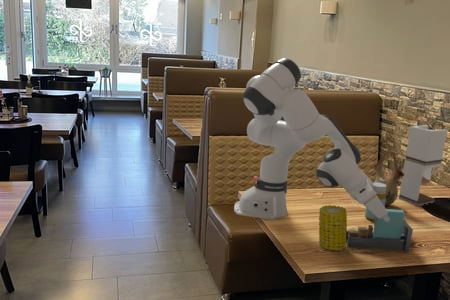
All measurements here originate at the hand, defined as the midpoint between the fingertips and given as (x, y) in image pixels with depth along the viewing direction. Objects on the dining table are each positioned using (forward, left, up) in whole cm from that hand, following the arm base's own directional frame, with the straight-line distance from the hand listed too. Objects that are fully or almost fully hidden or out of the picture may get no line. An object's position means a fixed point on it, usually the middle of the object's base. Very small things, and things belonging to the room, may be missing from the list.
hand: (384, 215), depth 152 cm
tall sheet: (+2, 0, -12) cm, 12 cm away
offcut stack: (-7, 0, -12) cm, 14 cm away
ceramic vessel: (+14, +44, -12) cm, 48 cm away
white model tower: (+32, +52, -12) cm, 62 cm away
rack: (-2, 0, -12) cm, 12 cm away
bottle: (+5, +26, -12) cm, 29 cm away
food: (-18, -2, -12) cm, 22 cm away
